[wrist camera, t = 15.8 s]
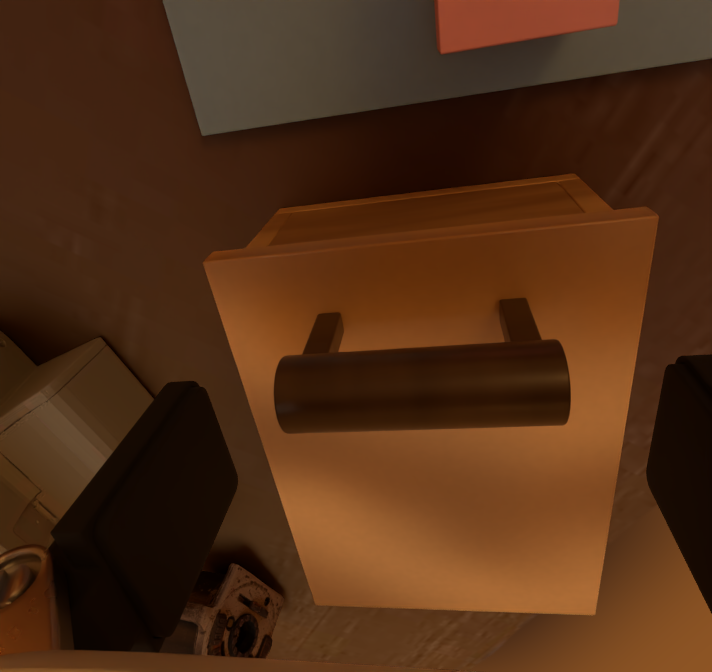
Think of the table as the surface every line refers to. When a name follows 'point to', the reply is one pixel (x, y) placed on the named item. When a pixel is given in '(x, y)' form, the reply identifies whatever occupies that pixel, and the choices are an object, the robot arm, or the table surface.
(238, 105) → the mat
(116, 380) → the digital clock
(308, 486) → the lid
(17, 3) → the table surface
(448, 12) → the eraser
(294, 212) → the pencil box
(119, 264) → the table surface
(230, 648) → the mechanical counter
